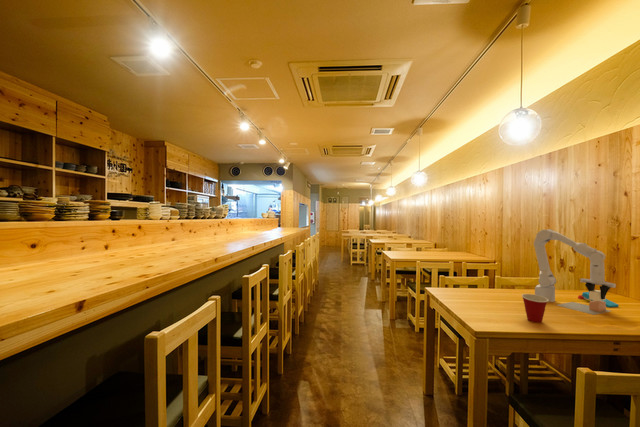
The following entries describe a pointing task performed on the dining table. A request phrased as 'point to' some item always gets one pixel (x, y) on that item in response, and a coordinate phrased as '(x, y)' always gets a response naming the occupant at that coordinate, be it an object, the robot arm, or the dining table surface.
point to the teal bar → (586, 296)
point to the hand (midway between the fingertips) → (597, 297)
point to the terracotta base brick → (597, 305)
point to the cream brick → (595, 295)
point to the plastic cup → (534, 307)
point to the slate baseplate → (581, 308)
